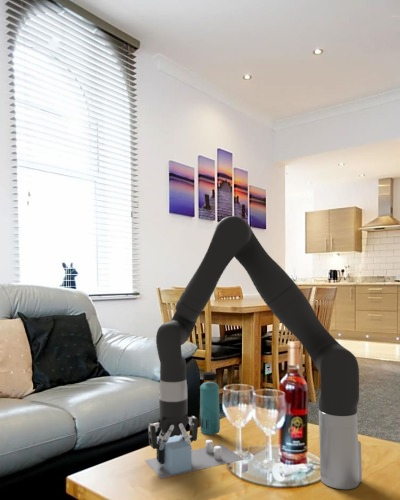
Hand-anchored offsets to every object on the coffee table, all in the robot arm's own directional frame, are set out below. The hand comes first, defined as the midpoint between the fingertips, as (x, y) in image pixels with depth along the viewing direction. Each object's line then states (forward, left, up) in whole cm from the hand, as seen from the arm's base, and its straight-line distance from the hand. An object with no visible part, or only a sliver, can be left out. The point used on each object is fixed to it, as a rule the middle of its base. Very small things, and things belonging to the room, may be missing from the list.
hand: (173, 460), depth 115 cm
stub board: (-6, 0, -3) cm, 7 cm away
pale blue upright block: (0, 0, -1) cm, 1 cm away
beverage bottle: (-20, -17, -3) cm, 26 cm away
